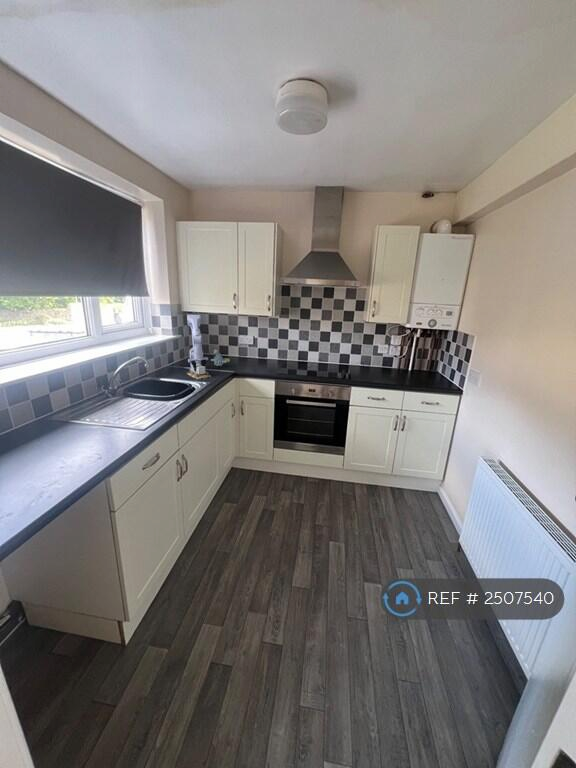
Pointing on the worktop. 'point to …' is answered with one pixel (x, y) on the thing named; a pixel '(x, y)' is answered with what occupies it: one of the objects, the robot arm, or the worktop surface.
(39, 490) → the worktop surface
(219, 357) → the toy figure
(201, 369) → the block
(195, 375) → the cradle jig
